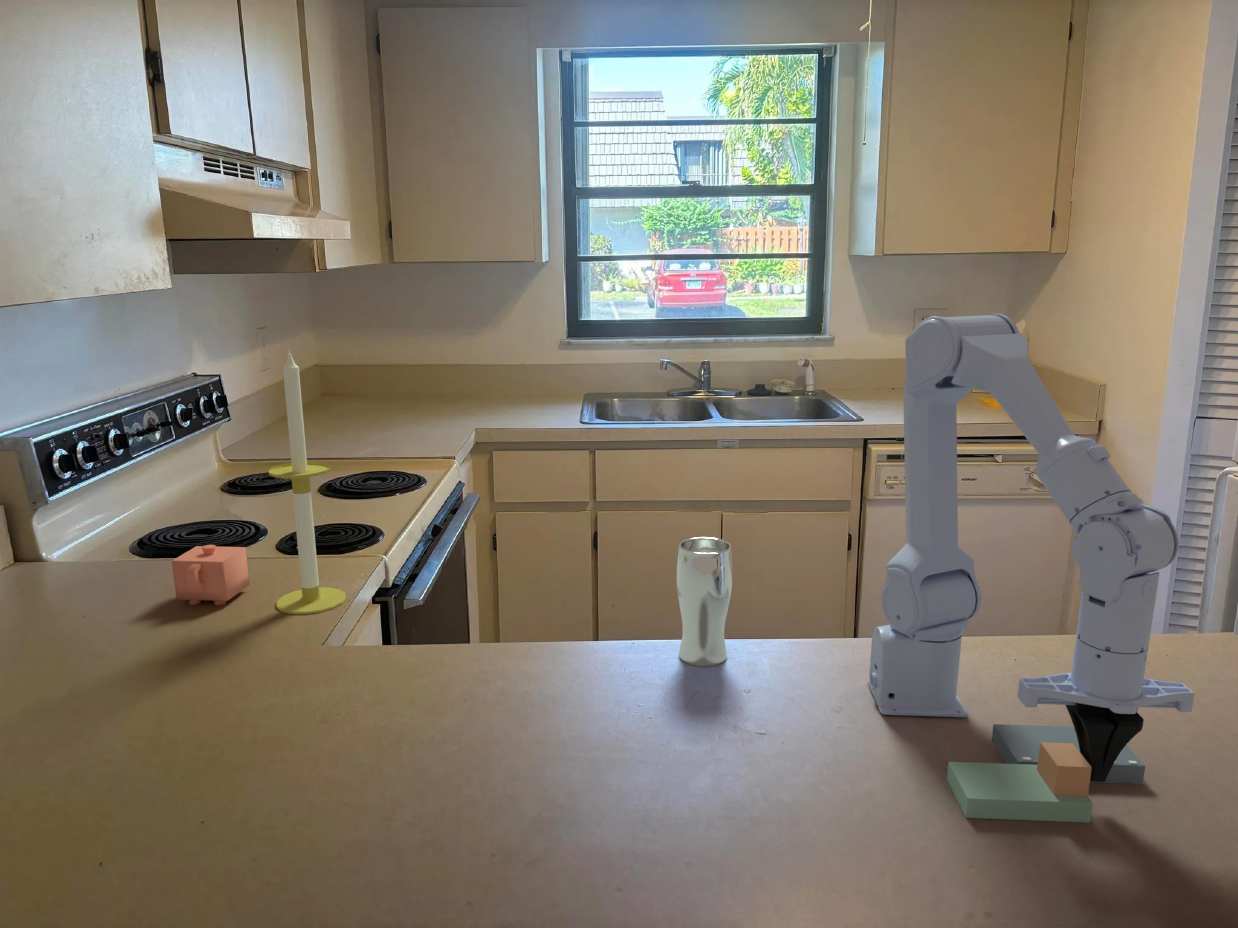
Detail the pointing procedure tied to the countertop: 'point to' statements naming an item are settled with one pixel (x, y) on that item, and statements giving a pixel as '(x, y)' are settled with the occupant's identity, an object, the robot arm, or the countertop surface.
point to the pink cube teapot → (210, 574)
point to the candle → (303, 507)
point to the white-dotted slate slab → (1025, 742)
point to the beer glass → (704, 598)
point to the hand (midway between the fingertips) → (1093, 775)
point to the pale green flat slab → (1026, 787)
